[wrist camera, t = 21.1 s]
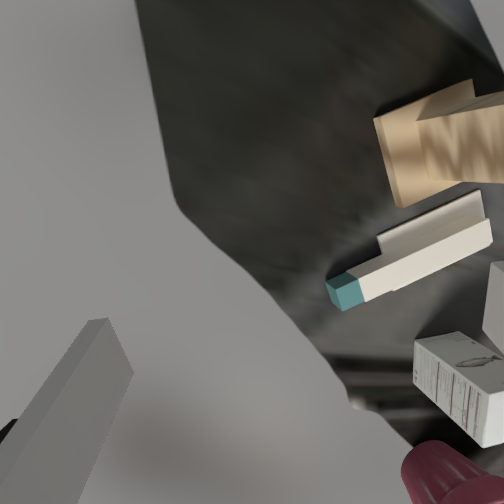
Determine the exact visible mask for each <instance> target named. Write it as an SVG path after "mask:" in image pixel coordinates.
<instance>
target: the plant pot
mask: <svg viewBox="0 0 504 504" xmlns="http://www.w3.org/2000/svg"><path fill="white" fill-rule="evenodd" d="M401 477H402V480H403V482H404V484H405V486H406V489H407V491H408V493H409V495H410V498H411V500H412V502H413V504H504V478H502V477H499V476H494V475H490V474H489V473H488V472H486V471H485V470H484V469H482V468H481V467H479V466H478V465H476V464H475V463H474V462H472V461H471V460H469V459H468V458H466V457H465V456H463V455H462V454H460V453H459V452H457V451H456V450H454V449H453V448H451V447H450V446H449V445H447V444H446V443H444V442H442V441H439V440H429V441H425V442H423V443H420V444H419V445H417V446H416V447H414V448H413V449H412V450H411V451H410V452H409V453H408V454H407V456H406V457H405V459H404V461H403V463H402V467H401Z"/></svg>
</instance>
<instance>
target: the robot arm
mask: <svg viewBox="0 0 504 504" xmlns="http://www.w3.org/2000/svg"><path fill="white" fill-rule="evenodd" d="M482 330H483V331H484V332H485V333H486V335H487V336H488V337H489V338H490V339H491V340H492V342H493V343H494V344H495V345H496V346H497V347H498V349H499V350H500V351H501V352H502V353H503V354H504V261H498V262H491V267H490V274H489V282H488V289H487V297H486V304H485V312H484V319H483V327H482ZM133 374H134V371H133V370H132V367H131V365H130V363H129V361H128V359H127V357H126V355H125V352H124V350H123V348H122V346H121V344H120V342H119V340H118V338H117V335H116V333H115V331H114V329H113V327H112V325H111V323H110V321H109V319H108V318H103V319H96V320H89V321H88V322H87V324H86V325H85V326H84V328H83V329H82V330H81V332H80V333H79V335H78V336H77V337H76V339H75V340H74V342H73V343H72V344H71V346H70V347H69V349H68V350H67V352H66V353H65V354H64V356H63V357H62V359H61V360H60V362H59V363H58V364H57V365H56V367H55V368H54V370H53V371H52V373H51V374H50V376H49V377H48V378H47V380H46V381H45V382H44V384H43V385H42V387H41V388H40V389H39V391H38V392H37V394H36V395H35V396H34V398H33V399H32V401H31V402H30V403H29V405H28V406H27V408H26V409H25V410H24V412H23V413H22V415H21V416H20V417H19V419H12V420H11V421H10V422H9V423H8V424H7V425H6V426H5V427H4V428H3V429H2V430H1V431H0V504H77V502H78V500H79V498H80V495H81V493H82V491H83V489H84V486H85V484H86V482H87V479H88V477H89V475H90V472H91V470H92V468H93V466H94V463H95V461H96V459H97V456H98V454H99V452H100V450H101V447H102V445H103V443H104V440H105V438H106V436H107V434H108V431H109V429H110V427H111V424H112V422H113V420H114V417H115V415H116V413H117V411H118V408H119V406H120V404H121V401H122V399H123V397H124V394H125V392H126V390H127V387H128V385H129V383H130V381H131V378H132V376H133Z"/></svg>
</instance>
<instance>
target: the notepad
mask: <svg viewBox="0 0 504 504" xmlns="http://www.w3.org/2000/svg"><path fill="white" fill-rule="evenodd" d="M467 215H471V216H477V217H483V218H485V215H484V209H483V204H482V198H481V193H480V190H476V191H474V192H472V193H470V194H467V195H465V196H463V197H461V198H459V199H456V200H454V201H452V202H450V203H448V204H445V205H443V206H441V207H439V208H437V209H434V210H432V211H430V212H428V213H426V214H424V215H421V216H419V217H417V218H415V219H413V220H410V221H408V222H406V223H404V224H402V225H399V226H397V227H395V228H393V229H391V230H388V231H386V232H384V233H382V234H380V235H377V240H378V243H379V247H380V250H381V254H384V253H386V252H388V251H391V250H393V249H395V248H397V247H399V246H401V245H404V244H406V243H408V242H410V241H412V240H415V239H417V238H419V237H421V236H423V235H425V234H428V233H430V232H432V231H434V230H436V229H439V228H441V227H443V226H445V225H447V224H450V223H452V222H454V221H456V220H458V219H460V218H463V217H465V216H467ZM488 246H490V244H488V245H486V246H484V247H481V248H479V249H477V250H475V251H473V252H471V253H469V254H467V255H464V256H462V257H460V258H458V259H456V260H454V261H452V262H450V263H447V264H445V265H443V266H441V267H439V268H437V269H435V270H433V271H430V272H428V273H426V274H424V275H422V276H420V277H418V278H416V279H413V280H411V281H409V282H407V283H405V284H403V285H401V286H399V287H396V288H394V289H392V290H393V291H395V290H397V289H399V288H401V287H403V286H406V285H408V284H410V283H412V282H414V281H416V280H418V279H420V278H422V277H424V276H427V275H429V274H431V273H433V272H435V271H437V270H439V269H441V268H443V267H446V266H448V265H450V264H452V263H454V262H456V261H458V260H460V259H462V258H464V257H467V256H469V255H471V254H473V253H475V252H477V251H479V250H481V249H483V248H485V247H488Z"/></svg>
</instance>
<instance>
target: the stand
mask: <svg viewBox="0 0 504 504" xmlns="http://www.w3.org/2000/svg"><path fill="white" fill-rule="evenodd" d="M373 120H374V124H375V128H376V132H377V136H378V139H379V143H380V147H381V151H382V155H383V159H384V163H385V166H386V170H387V174H388V178H389V182H390V186H391V190H392V193H393V197H394V201H395V205H396V207H400V208H405V207H407V206H409V205H411V204H414V203H416V202H418V201H420V200H422V199H425V198H427V197H429V196H431V195H433V194H436V193H438V192H440V191H442V190H445V189H447V188H449V187H451V186H453V185H456V184H458V183H460V182H462V181H466V182H487V183H504V91H501V92H497V93H493V94H488V95H484V96H480V97H476V98H475V93H474V87H473V81H472V79H469V80H465V81H462V82H460V83H457V84H455V85H452V86H450V87H448V88H445V89H443V90H440V91H438V92H436V93H433V94H431V95H429V96H426V97H424V98H421V99H419V100H417V101H414V102H412V103H409V104H407V105H405V106H402V107H400V108H397V109H395V110H393V111H390V112H388V113H385V114H383V115H381V116H378V117H376V118H374V119H373Z"/></svg>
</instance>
